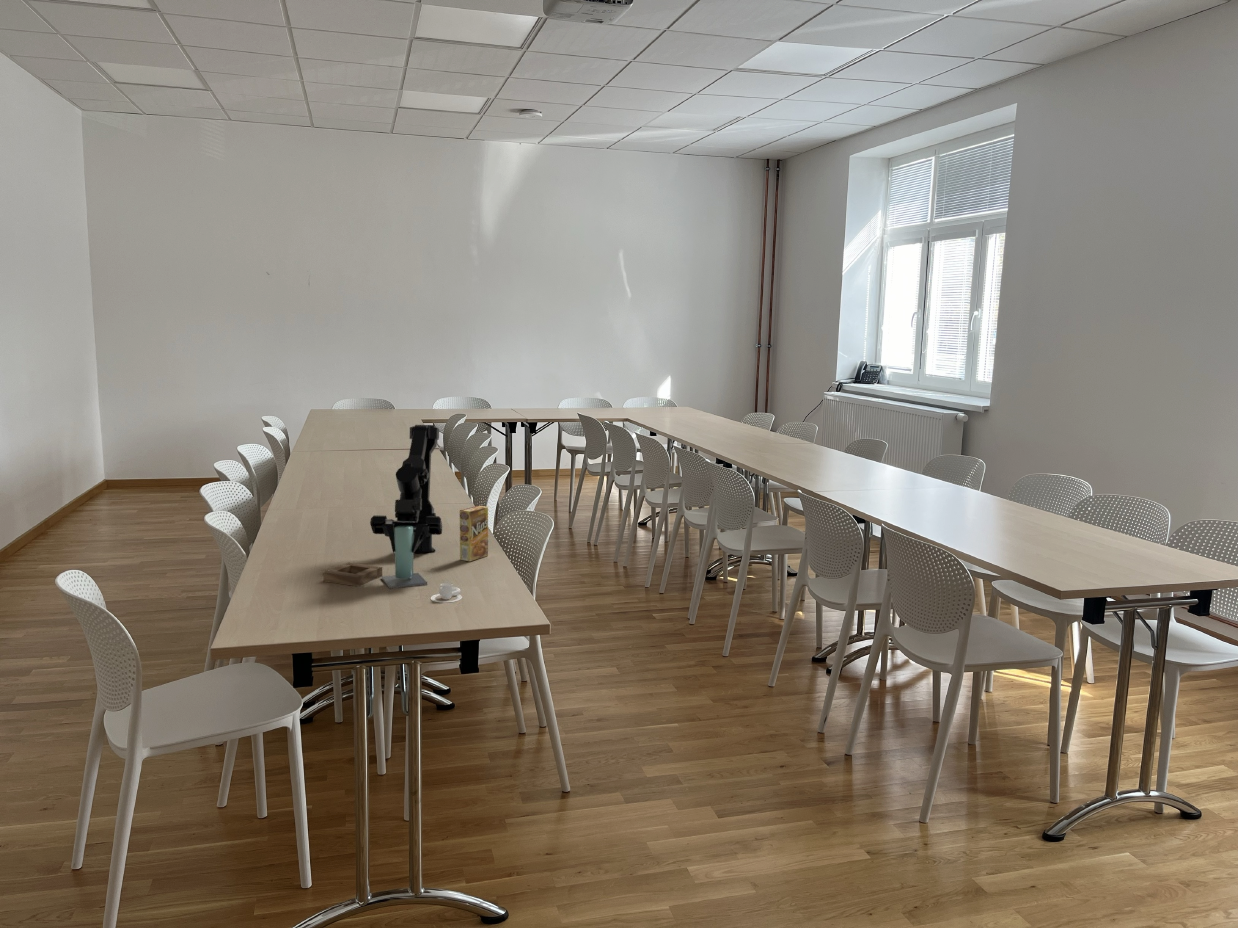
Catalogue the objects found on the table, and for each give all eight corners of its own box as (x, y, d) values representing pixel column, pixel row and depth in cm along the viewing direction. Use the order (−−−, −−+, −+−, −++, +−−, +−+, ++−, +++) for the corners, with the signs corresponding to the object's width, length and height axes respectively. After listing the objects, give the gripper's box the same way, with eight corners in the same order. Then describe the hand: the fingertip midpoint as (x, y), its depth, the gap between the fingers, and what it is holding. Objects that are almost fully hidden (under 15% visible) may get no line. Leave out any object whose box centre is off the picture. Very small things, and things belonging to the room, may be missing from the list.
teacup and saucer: (454, 592, 228) (454, 577, 227) (470, 599, 222) (470, 584, 222) (424, 598, 222) (424, 583, 222) (440, 606, 216) (440, 590, 216)
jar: (391, 576, 234) (390, 527, 232) (406, 572, 238) (405, 524, 236) (402, 579, 232) (402, 530, 229) (417, 575, 235) (416, 527, 233)
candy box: (470, 562, 256) (470, 511, 254) (458, 560, 258) (459, 509, 256) (488, 555, 264) (489, 506, 262) (477, 553, 266) (477, 504, 264)
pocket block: (349, 571, 244) (349, 562, 243) (382, 575, 240) (382, 566, 239) (323, 581, 233) (323, 572, 233) (357, 586, 230) (357, 577, 229)
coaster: (381, 578, 237) (381, 576, 237) (418, 574, 242) (418, 572, 242) (389, 588, 228) (389, 586, 228) (427, 584, 233) (427, 582, 233)
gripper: (370, 486, 234) (362, 535, 225) (440, 487, 236) (435, 536, 227) (377, 508, 243) (369, 557, 234) (444, 509, 245) (439, 557, 236)
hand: (403, 551), depth 232 cm, fingers closed on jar, 5 cm apart
